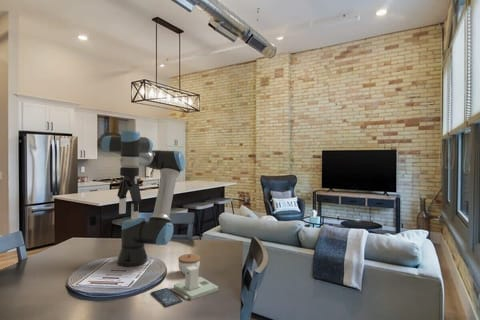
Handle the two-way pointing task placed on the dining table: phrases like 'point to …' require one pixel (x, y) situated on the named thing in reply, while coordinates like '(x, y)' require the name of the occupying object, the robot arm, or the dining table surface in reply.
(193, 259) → the lidded jar
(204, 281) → the outlet plate
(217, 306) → the dining table surface
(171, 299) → the phone
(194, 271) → the block
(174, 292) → the grey pen
